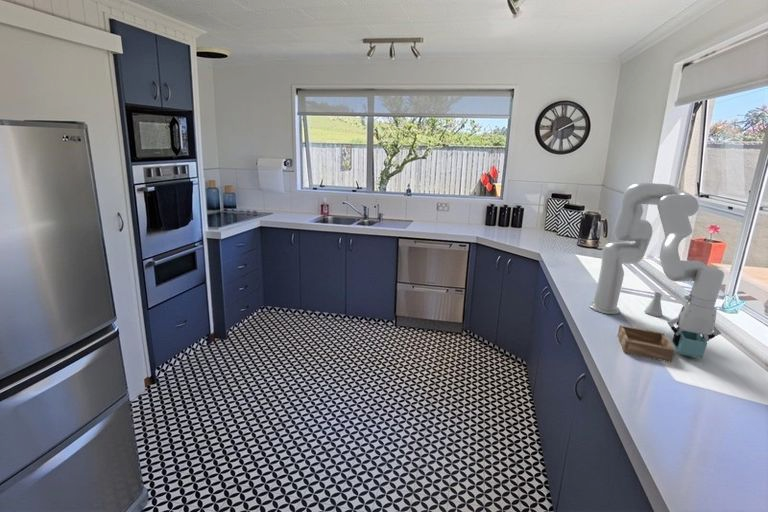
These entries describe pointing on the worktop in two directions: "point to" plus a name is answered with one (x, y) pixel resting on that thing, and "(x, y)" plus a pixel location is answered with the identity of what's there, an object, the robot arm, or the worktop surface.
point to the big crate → (645, 343)
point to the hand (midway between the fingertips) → (687, 346)
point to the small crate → (691, 344)
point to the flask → (655, 305)
